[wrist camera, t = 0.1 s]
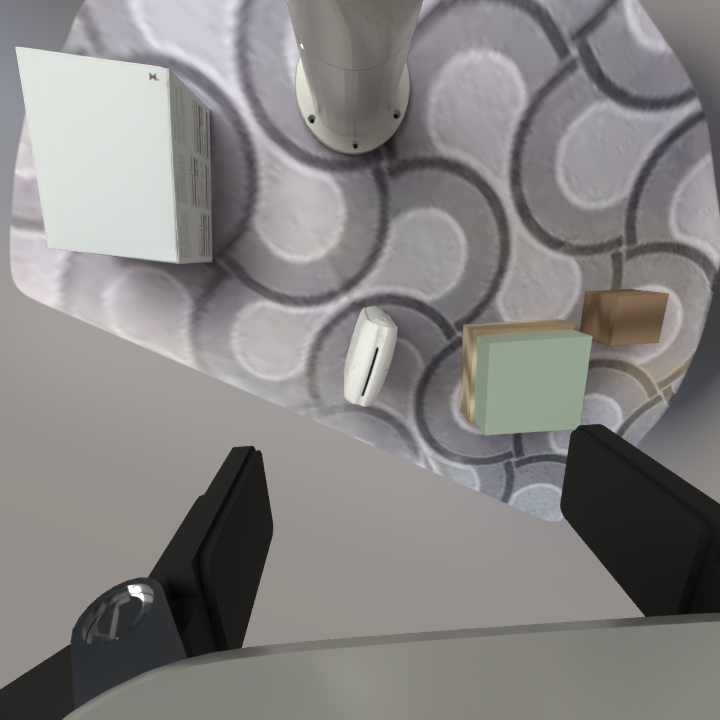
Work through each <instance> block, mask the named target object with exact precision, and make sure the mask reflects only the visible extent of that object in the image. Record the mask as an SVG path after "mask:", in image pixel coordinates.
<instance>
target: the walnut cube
mask: <svg viewBox="0 0 720 720" xmlns="http://www.w3.org/2000/svg"><path fill="white" fill-rule="evenodd" d="M668 296H669V294H667V293H659V292H650V291H642V290H634V289H621V290H605V291H588V292H585V299H584V306H583V313H582V320H581V327H580V332H581V333H584V334H587V335H590V336H593V338H592V340H595V341H598V342H601V343H604V344H607V345H610V346H615V345H631V344H646V343H659V338H660V333H661V329H662V324H663V319H664V314H665V310H666V305H667V300H668Z"/></svg>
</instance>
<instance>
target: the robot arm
mask: <svg viewBox="0 0 720 720" xmlns="http://www.w3.org/2000/svg"><path fill="white" fill-rule="evenodd" d="M286 1H287V5H288V9H289V14H290V18H291V22H292V26H293V30H294V34H295V38H296V41H297V45H298V49H299V53H300V57H299V60H298V63H297V68H296V75H295V92H296V98H297V103H298V107H299V110H300V113H301V115H302V117H303V120H304V122H305V124H306V126H307V127H308V129H309V130H310V132H311V133H312V134H313V135H314V136H315V137H316V138H317V140H318V141H319V142H321V143H322V144H323V145H325V146H326V147H328V148H329V149H331V150H334V151H336V152H338V153H343V154H347V155H360V154H364V153H369V152H371V151H373V150H375V149H377V148H379V147H380V146H382V145H383V144H384V143H386V142H387V141H388V140H389V139H390V138H391V137H392V136H393V134H394V133H395V132H396V130H397V129H398V127H399V125H400V124H401V122H402V119H403V117H404V114H405V111H406V108H407V105H408V100H409V93H410V77H409V71H408V65H407V62H406V58H407V55H408V52H409V48H410V45H411V41H412V38H413V34H414V31H415V28H416V24H417V20H418V17H419V13H420V10H421V6H422V2H423V0H286ZM394 115H397V116H398V118H397V119H395V118H394ZM311 120H314V121H315V122H314V123H313V124H312V123H310V121H311ZM354 145H357V146H358V148H357V149H355V148H354V147H353V146H354ZM560 507H561V511H562V514H563V516H564V517H565V519H566V520H567V521H568V522H569V524H570V525H571V526H572V527H573V528H574V530H575V531H576V532H577V533H578V535H579V536H580V537H581V538H582V540H583V541H584V542H585V543H586V544H587V546H588V547H589V548H590V549H591V551H593V553H594V554H595V555H596V556H597V558H598V559H599V560H600V562H601V563H602V564H603V565H604V566H605V568H606V569H607V570H608V571H609V573H610V574H611V575H612V576H613V577H614V579H615V580H616V581H617V582H618V584H620V586H621V587H622V588H623V590H624V591H625V592H626V593H627V595H628V596H629V597H630V598H631V599H632V601H633V602H634V603H635V604H636V605H637V607H638V608H639V609H640V610H641V612H642V613H643V614H644V615H645V617H638V618H622V619H606V620H590V621H576V622H562V623H546V624H532V625H517V626H503V627H489V628H475V629H462V630H461V629H460V630H446V631H433V632H420V633H407V634H395V635H382V636H381V635H380V636H368V637H354V638H341V639H328V640H317V641H307V642H296V643H286V644H275V645H265V646H255V647H247V648H242V645H243V641H244V637H245V634H246V630H247V626H248V623H249V619H250V616H251V612H252V608H253V605H254V601H255V597H256V594H257V590H258V586H259V583H260V579H261V576H262V572H263V568H264V565H265V561H266V557H267V554H268V550H269V547H270V543H271V539H272V535H273V520H272V515H271V508H270V501H269V496H268V489H267V483H266V477H265V471H264V465H263V458H262V453H261V451H260V450H258V451H256V450H255V448H254V447H253V446H244V447H233V448H232V450H231V452H230V453H229V455H228V456H227V458H226V460H225V462H224V463H223V465H222V466H221V468H220V469H219V471H218V473H217V475H216V476H215V478H214V479H213V481H212V483H211V485H210V486H209V488H208V489H207V491H206V493H205V494H204V495H201V496H199V498H198V499H197V500H196V501H195V503H194V505H193V506H192V508H191V509H190V511H189V513H188V514H187V516H186V517H185V519H184V521H183V522H182V524H181V526H180V527H179V529H178V530H177V532H176V533H175V535H174V537H173V538H172V540H171V541H170V543H169V545H168V546H167V548H166V549H165V551H164V553H163V554H162V556H161V558H160V559H159V561H158V562H157V564H156V565H155V567H154V569H153V570H152V572H151V573H150V575H149V577H146V578H145V577H139V578H135V579H131V580H127V581H125V582H123V583H121V584H118V585H116V586H114V587H112V588H111V589H109V590H108V591H106V592H105V593H103V594H102V595H100V596H99V597H98V598H97V599H96V600H95V601H94V602H92V603H91V604H90V605H89V606H88V607H87V609H86V610H85V611H84V612H83V613H82V614H81V616H80V617H79V619H78V620H77V622H76V624H75V626H74V628H73V631H72V636H71V644H70V645H68V646H66V647H65V648H63V649H62V650H60V651H59V652H57V653H56V654H54V655H53V656H51V657H50V658H48V659H47V660H45V661H43V662H42V663H40V664H39V665H37V666H36V667H34V668H33V669H31V670H30V671H28V672H27V673H25V674H23V675H22V676H20V677H19V678H17V679H16V680H14V681H13V682H11V683H10V684H8V685H7V686H5V687H3V688H2V689H0V720H720V504H719V503H717V502H716V501H715V500H713V499H711V498H710V497H709V496H707V495H706V494H704V493H703V492H701V491H700V490H698V489H697V488H695V487H694V486H692V485H691V484H689V483H688V482H686V481H685V480H683V479H682V478H680V477H679V476H677V475H676V474H675V473H673V472H672V471H670V470H669V469H667V468H666V467H664V466H663V465H661V464H660V463H658V462H657V461H655V460H654V459H652V458H651V457H649V456H648V455H646V454H645V453H643V452H642V451H640V450H639V449H637V448H636V447H634V446H633V445H631V444H630V443H628V442H627V441H626V440H624V439H623V438H621V437H620V436H618V435H617V434H615V433H614V432H612V431H611V430H609V429H608V428H606V427H605V426H603V425H601V424H593V425H580V426H578V427H577V428H576V430H575V431H573V432H572V433H571V436H570V443H569V449H568V456H567V463H566V469H565V476H564V483H563V489H562V496H561V503H560Z"/></svg>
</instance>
